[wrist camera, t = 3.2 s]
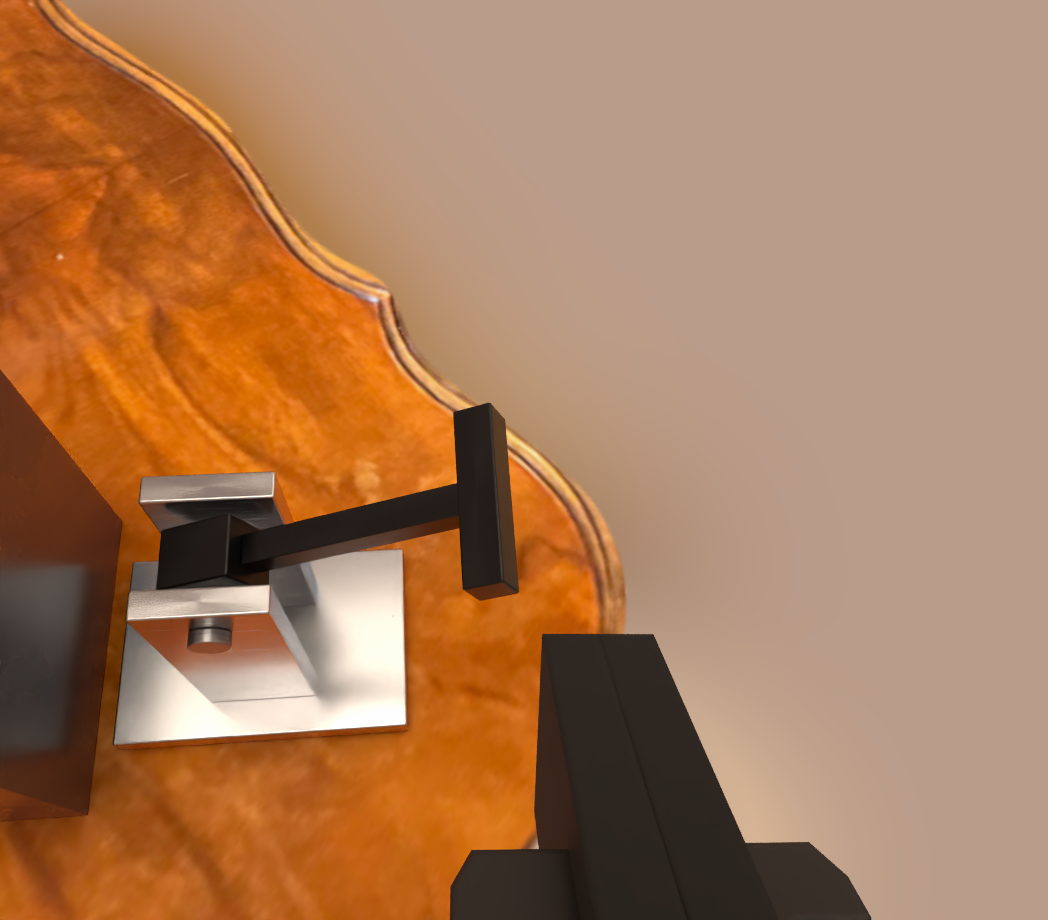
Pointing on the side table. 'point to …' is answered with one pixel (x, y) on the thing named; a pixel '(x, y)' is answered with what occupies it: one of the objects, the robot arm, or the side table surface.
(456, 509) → the lever
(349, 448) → the side table surface
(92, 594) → the toaster
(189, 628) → the lever bracket
